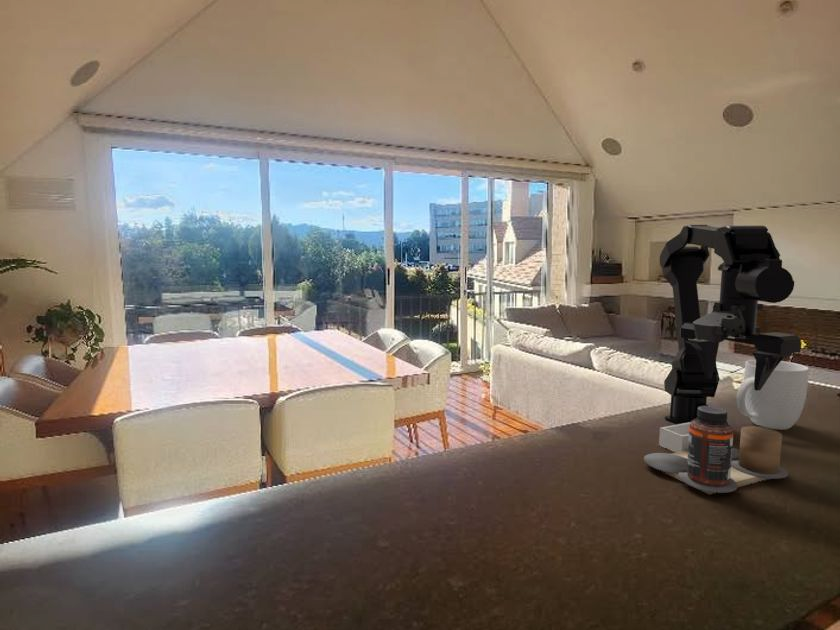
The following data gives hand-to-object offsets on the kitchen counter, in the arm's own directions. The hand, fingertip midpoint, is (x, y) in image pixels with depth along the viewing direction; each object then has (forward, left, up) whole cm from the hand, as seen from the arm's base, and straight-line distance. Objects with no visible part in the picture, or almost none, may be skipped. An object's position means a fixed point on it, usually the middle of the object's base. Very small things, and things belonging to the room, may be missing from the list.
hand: (731, 383), depth 90 cm
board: (+4, -9, -13) cm, 16 cm away
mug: (-7, +22, -13) cm, 27 cm away
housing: (-5, -4, -13) cm, 15 cm away
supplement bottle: (+8, -15, -12) cm, 21 cm away
